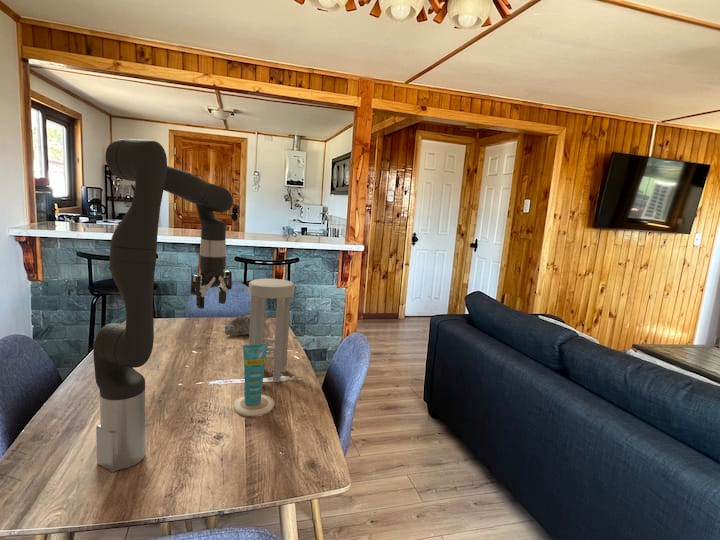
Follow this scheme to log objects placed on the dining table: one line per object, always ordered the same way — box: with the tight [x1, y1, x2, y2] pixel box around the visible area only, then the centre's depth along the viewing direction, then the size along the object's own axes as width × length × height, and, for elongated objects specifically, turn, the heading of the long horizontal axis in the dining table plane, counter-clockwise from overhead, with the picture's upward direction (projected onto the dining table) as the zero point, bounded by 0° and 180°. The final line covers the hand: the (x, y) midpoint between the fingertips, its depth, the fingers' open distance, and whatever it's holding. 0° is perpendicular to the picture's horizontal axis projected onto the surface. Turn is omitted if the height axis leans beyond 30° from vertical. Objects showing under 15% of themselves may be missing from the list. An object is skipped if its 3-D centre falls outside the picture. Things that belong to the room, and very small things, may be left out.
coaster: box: [233, 394, 275, 417], centre depth 128 cm, size 12×12×1 cm
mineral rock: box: [224, 313, 250, 337], centre depth 193 cm, size 13×11×10 cm
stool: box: [248, 278, 296, 384], centre depth 149 cm, size 16×16×35 cm
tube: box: [242, 342, 269, 406], centre depth 126 cm, size 7×5×19 cm, turn 122°
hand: (211, 305), depth 128 cm, fingers open, 8 cm apart
